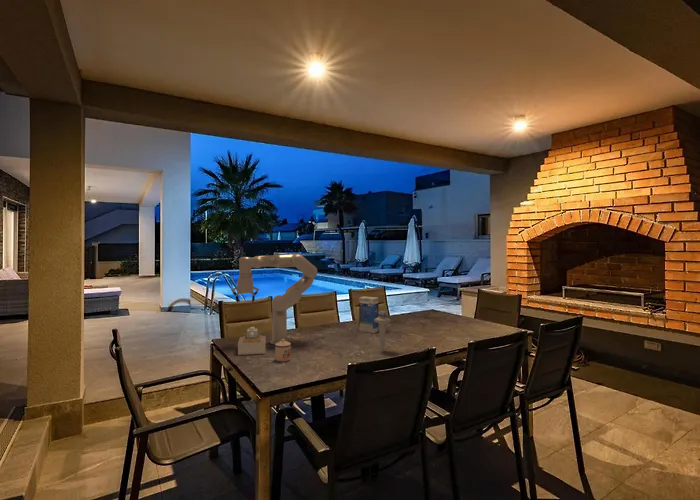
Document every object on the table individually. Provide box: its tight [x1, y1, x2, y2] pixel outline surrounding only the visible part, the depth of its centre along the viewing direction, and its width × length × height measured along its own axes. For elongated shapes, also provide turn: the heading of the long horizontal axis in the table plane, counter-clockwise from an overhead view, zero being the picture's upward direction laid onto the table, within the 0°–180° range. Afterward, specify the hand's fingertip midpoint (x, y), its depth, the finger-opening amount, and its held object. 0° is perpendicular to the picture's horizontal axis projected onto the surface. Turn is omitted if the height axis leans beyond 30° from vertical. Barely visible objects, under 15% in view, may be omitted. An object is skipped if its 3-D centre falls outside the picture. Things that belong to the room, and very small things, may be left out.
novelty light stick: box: [374, 310, 391, 353], centre depth 236 cm, size 10×10×25 cm
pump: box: [246, 326, 258, 339], centre depth 236 cm, size 6×8×8 cm
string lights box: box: [358, 295, 379, 334], centre depth 288 cm, size 13×8×26 cm, turn 58°
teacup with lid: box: [274, 339, 292, 363], centre depth 221 cm, size 12×9×12 cm
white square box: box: [237, 334, 267, 356], centre depth 237 cm, size 16×16×8 cm
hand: (245, 302), depth 249 cm, fingers open, 9 cm apart
